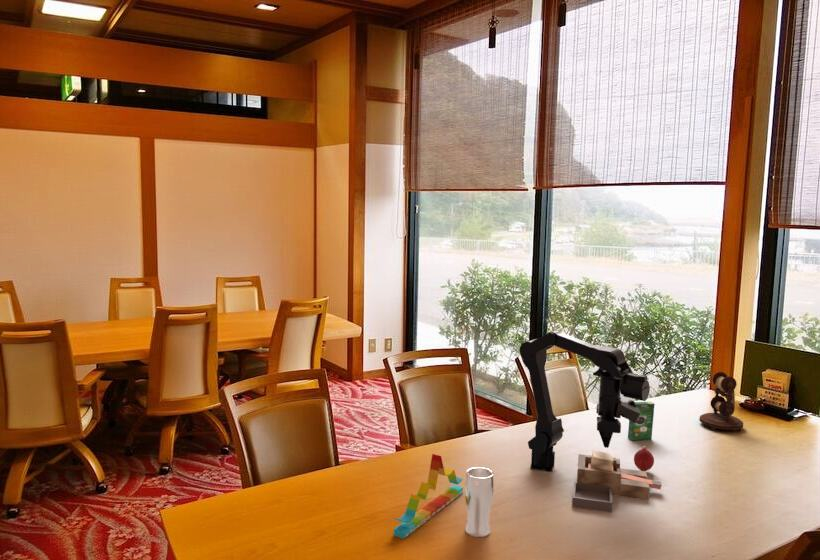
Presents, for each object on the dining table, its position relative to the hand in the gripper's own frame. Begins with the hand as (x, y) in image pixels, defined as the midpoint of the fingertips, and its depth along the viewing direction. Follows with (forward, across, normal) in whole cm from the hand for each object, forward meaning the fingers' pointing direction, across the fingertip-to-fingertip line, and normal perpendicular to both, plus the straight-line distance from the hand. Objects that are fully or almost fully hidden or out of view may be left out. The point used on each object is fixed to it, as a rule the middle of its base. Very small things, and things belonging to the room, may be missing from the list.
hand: (606, 446), depth 186 cm
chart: (+13, -32, +44) cm, 55 cm away
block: (+7, 0, +1) cm, 7 cm away
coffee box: (+12, +44, -13) cm, 48 cm away
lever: (+9, 0, -5) cm, 10 cm away
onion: (+12, +14, -12) cm, 22 cm away
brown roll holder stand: (+12, +68, -43) cm, 82 cm away
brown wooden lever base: (+12, 0, -2) cm, 12 cm away
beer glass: (+12, -38, +30) cm, 50 cm away
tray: (+12, -12, +3) cm, 17 cm away
